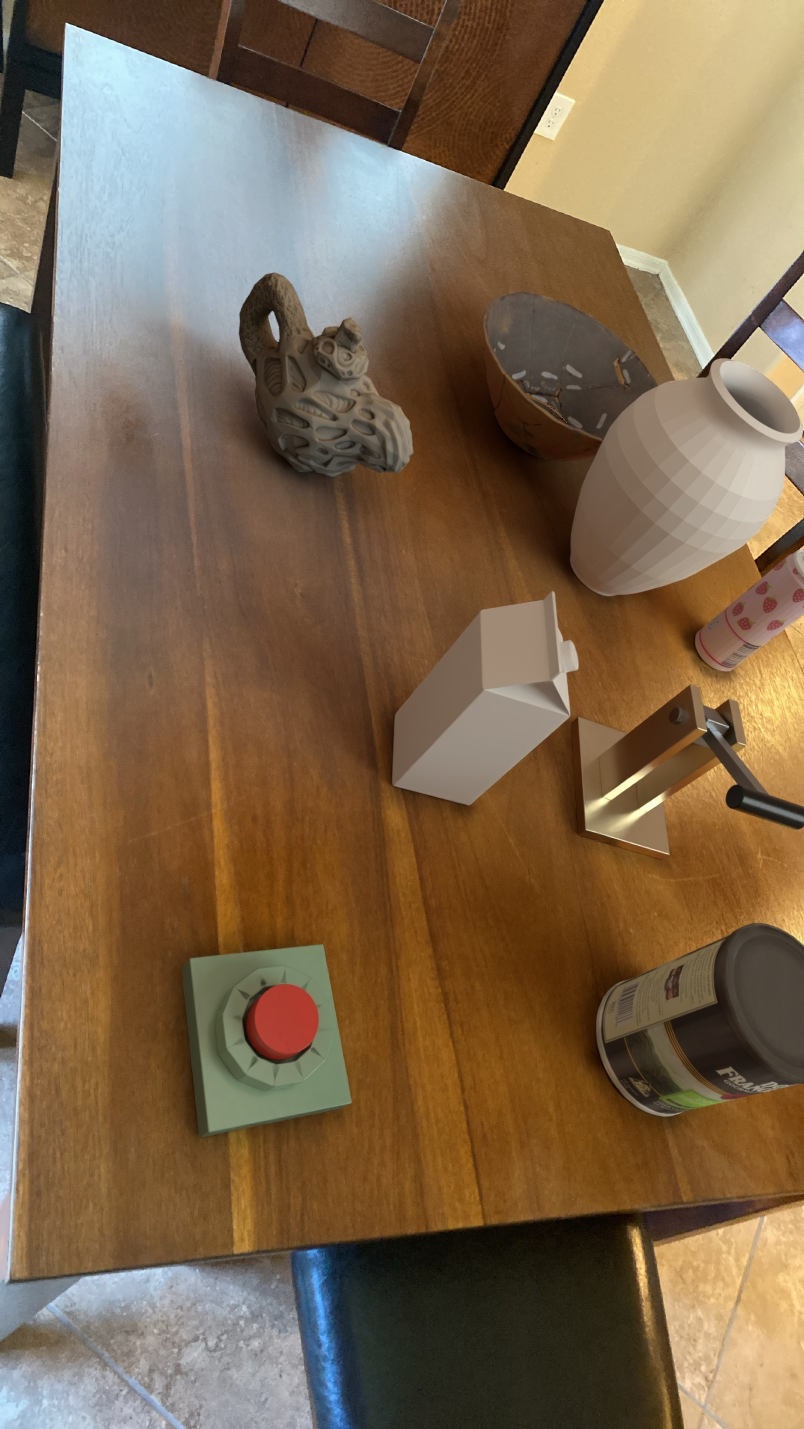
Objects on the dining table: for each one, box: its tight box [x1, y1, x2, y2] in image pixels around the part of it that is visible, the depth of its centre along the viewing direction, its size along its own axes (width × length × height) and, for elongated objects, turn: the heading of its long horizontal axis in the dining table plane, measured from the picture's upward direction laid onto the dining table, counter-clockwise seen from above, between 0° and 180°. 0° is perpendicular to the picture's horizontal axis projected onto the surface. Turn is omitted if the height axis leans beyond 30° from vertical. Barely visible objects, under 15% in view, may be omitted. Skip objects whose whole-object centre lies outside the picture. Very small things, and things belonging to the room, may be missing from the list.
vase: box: [569, 358, 804, 597], centre depth 88 cm, size 18×18×25 cm
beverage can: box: [694, 549, 804, 672], centre depth 93 cm, size 6×6×15 cm
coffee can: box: [595, 922, 804, 1117], centre depth 62 cm, size 10×10×14 cm
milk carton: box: [391, 590, 580, 806], centre depth 66 cm, size 7×7×19 cm
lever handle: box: [692, 704, 804, 831], centre depth 67 cm, size 13×6×2 cm, turn 176°
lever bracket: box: [570, 683, 748, 860], centre depth 75 cm, size 12×9×14 cm
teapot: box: [238, 272, 414, 478], centre depth 80 cm, size 21×12×15 cm, turn 53°
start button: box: [246, 984, 319, 1060], centre depth 52 cm, size 4×4×2 cm
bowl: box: [481, 291, 659, 463], centre depth 103 cm, size 25×25×10 cm
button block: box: [181, 943, 353, 1138], centre depth 54 cm, size 10×9×4 cm
